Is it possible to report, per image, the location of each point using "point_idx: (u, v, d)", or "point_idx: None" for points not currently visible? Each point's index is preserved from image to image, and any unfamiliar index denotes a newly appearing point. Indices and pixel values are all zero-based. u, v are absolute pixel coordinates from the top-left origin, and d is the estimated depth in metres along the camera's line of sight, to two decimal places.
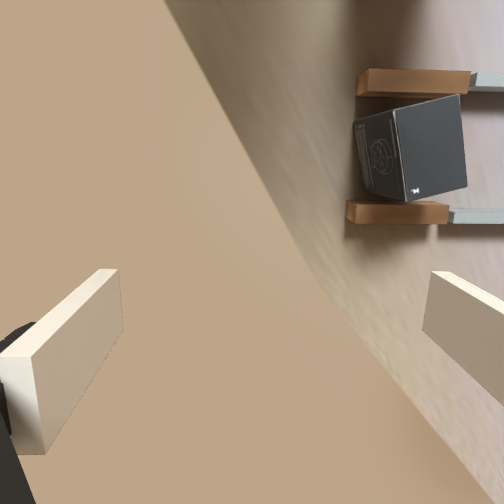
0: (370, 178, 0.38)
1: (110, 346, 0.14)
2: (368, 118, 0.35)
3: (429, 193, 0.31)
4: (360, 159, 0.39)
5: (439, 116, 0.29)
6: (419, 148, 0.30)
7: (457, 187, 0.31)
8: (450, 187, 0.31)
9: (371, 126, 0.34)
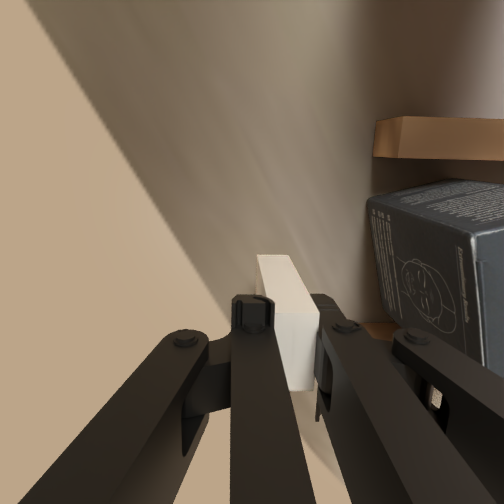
0: (396, 304, 0.21)
1: None
2: (400, 212, 0.18)
3: None
4: (379, 263, 0.23)
5: None
6: None
7: None
8: None
9: (406, 229, 0.18)
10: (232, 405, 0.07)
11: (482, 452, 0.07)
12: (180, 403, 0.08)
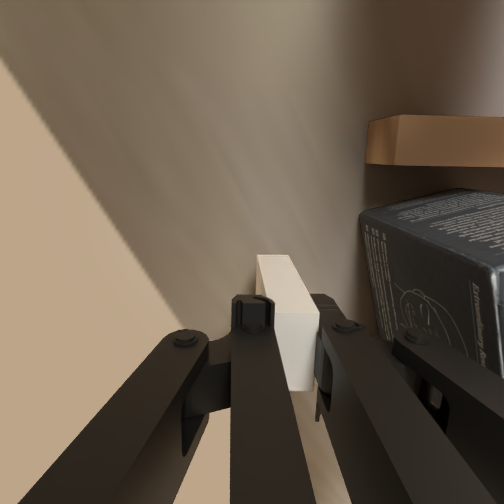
0: None
1: None
2: (397, 231, 0.15)
3: None
4: (374, 287, 0.20)
5: None
6: None
7: None
8: None
9: (405, 253, 0.14)
10: (232, 405, 0.07)
11: (482, 452, 0.07)
12: (181, 402, 0.08)
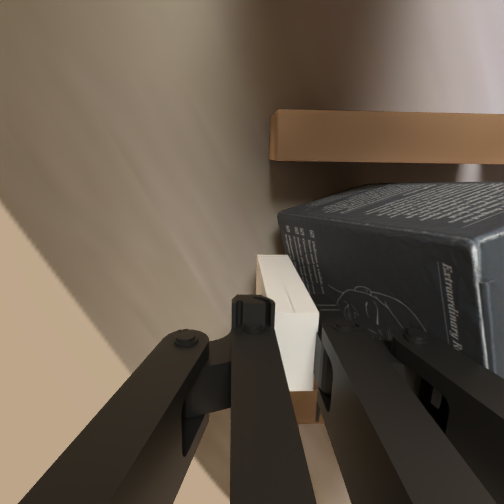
0: None
1: None
2: (330, 224, 0.13)
3: None
4: None
5: None
6: None
7: None
8: None
9: (342, 247, 0.13)
10: (232, 405, 0.07)
11: (482, 452, 0.07)
12: (180, 403, 0.08)
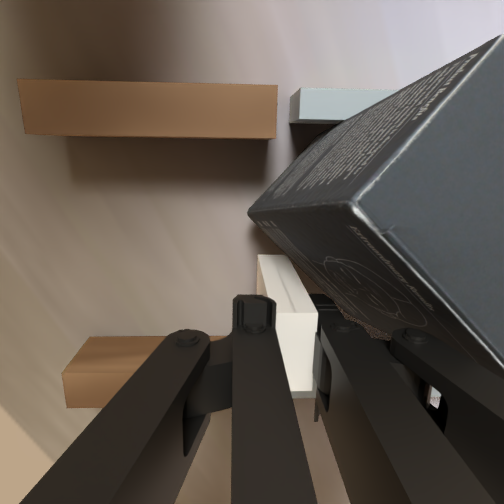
0: (353, 307, 0.16)
1: None
2: (275, 213, 0.13)
3: None
4: (306, 272, 0.18)
5: (496, 132, 0.08)
6: (495, 257, 0.08)
7: None
8: None
9: (294, 229, 0.13)
10: (233, 405, 0.07)
11: (480, 452, 0.07)
12: (182, 402, 0.08)
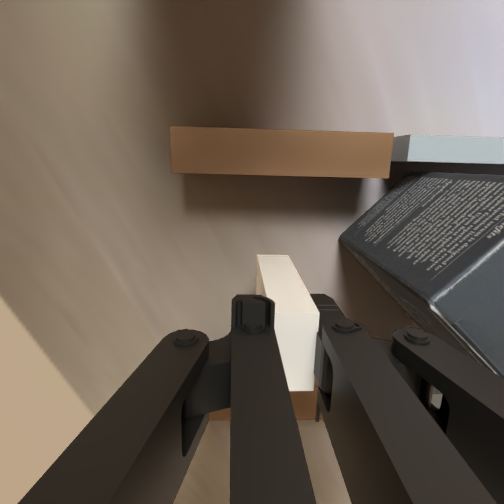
0: (423, 326, 0.20)
1: None
2: (367, 259, 0.16)
3: None
4: (386, 290, 0.21)
5: None
6: None
7: None
8: None
9: (381, 275, 0.16)
10: (232, 405, 0.07)
11: (482, 452, 0.07)
12: (181, 402, 0.08)
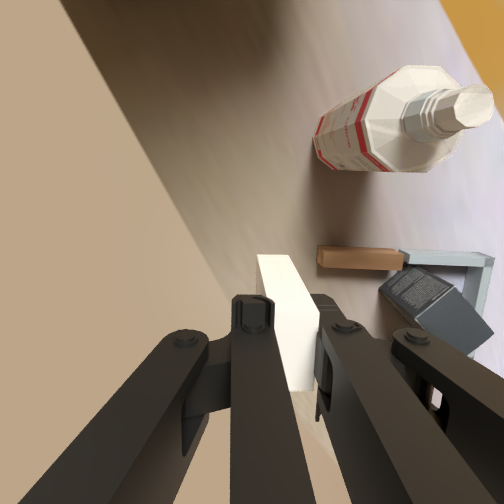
0: (413, 327, 0.48)
1: None
2: (393, 300, 0.45)
3: (469, 351, 0.40)
4: (398, 311, 0.49)
5: (449, 306, 0.39)
6: (446, 330, 0.39)
7: (487, 338, 0.40)
8: (482, 341, 0.40)
9: (398, 307, 0.44)
10: (232, 405, 0.07)
11: (482, 452, 0.07)
12: (180, 403, 0.08)
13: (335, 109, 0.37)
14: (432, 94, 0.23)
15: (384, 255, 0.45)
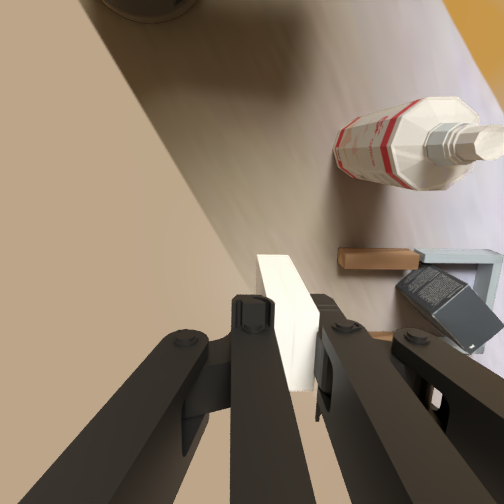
0: (429, 320, 0.52)
1: None
2: (410, 297, 0.48)
3: (481, 343, 0.44)
4: (414, 306, 0.53)
5: (463, 302, 0.43)
6: (460, 325, 0.43)
7: (498, 330, 0.44)
8: (493, 333, 0.44)
9: (415, 303, 0.48)
10: (232, 405, 0.07)
11: (482, 452, 0.07)
12: (180, 403, 0.08)
13: (357, 126, 0.40)
14: (453, 127, 0.26)
15: (401, 256, 0.48)
